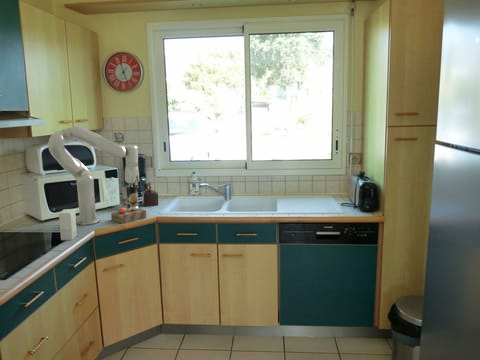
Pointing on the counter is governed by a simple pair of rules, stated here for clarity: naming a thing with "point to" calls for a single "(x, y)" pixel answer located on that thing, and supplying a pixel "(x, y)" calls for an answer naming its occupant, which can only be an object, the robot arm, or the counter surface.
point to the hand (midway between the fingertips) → (132, 192)
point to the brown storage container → (149, 196)
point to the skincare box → (67, 224)
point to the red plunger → (122, 210)
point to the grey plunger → (134, 208)
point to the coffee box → (129, 197)
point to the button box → (128, 216)
